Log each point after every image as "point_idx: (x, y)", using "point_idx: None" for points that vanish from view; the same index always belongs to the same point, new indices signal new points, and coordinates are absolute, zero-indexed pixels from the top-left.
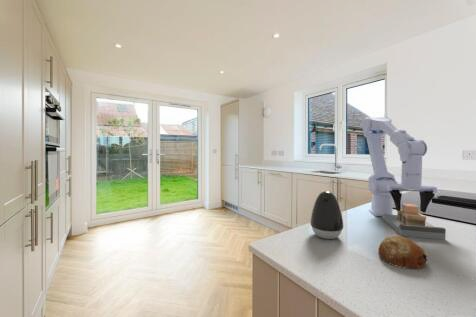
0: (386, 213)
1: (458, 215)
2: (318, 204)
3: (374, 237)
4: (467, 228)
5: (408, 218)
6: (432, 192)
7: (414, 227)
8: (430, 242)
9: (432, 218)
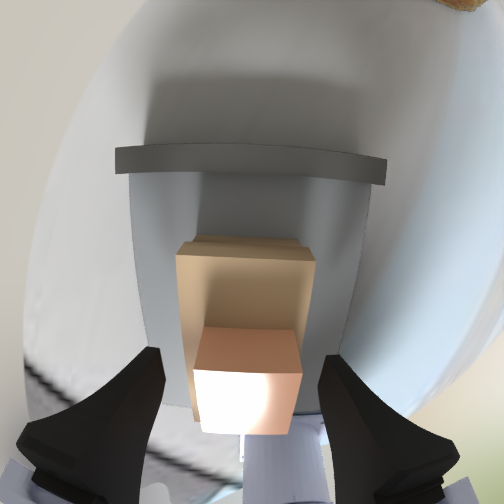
0: None
1: None
2: None
3: (472, 126)
4: (30, 323)
5: (309, 253)
6: (36, 472)
7: (306, 149)
8: (245, 82)
9: None
